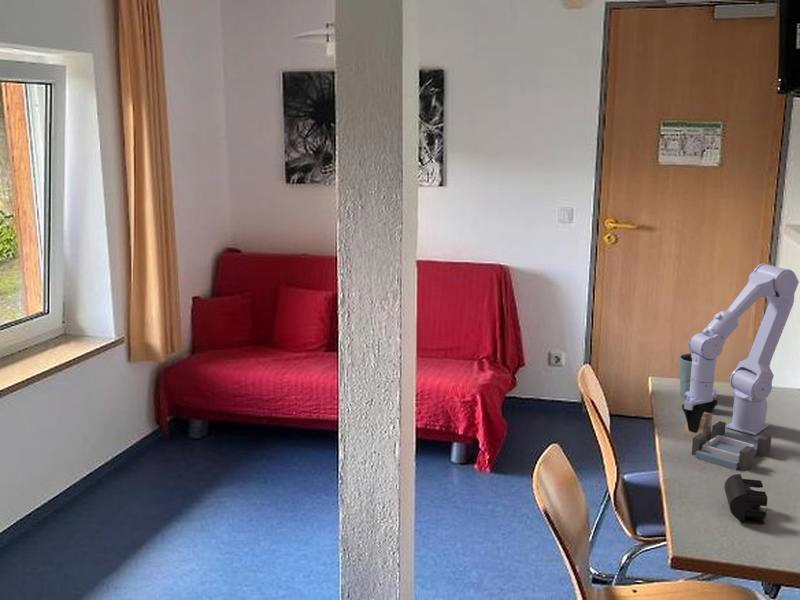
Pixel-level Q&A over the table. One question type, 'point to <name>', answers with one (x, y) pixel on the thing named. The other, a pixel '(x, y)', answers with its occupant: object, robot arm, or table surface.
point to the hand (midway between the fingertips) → (697, 428)
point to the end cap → (745, 499)
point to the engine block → (701, 425)
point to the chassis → (729, 447)
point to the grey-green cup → (685, 374)
